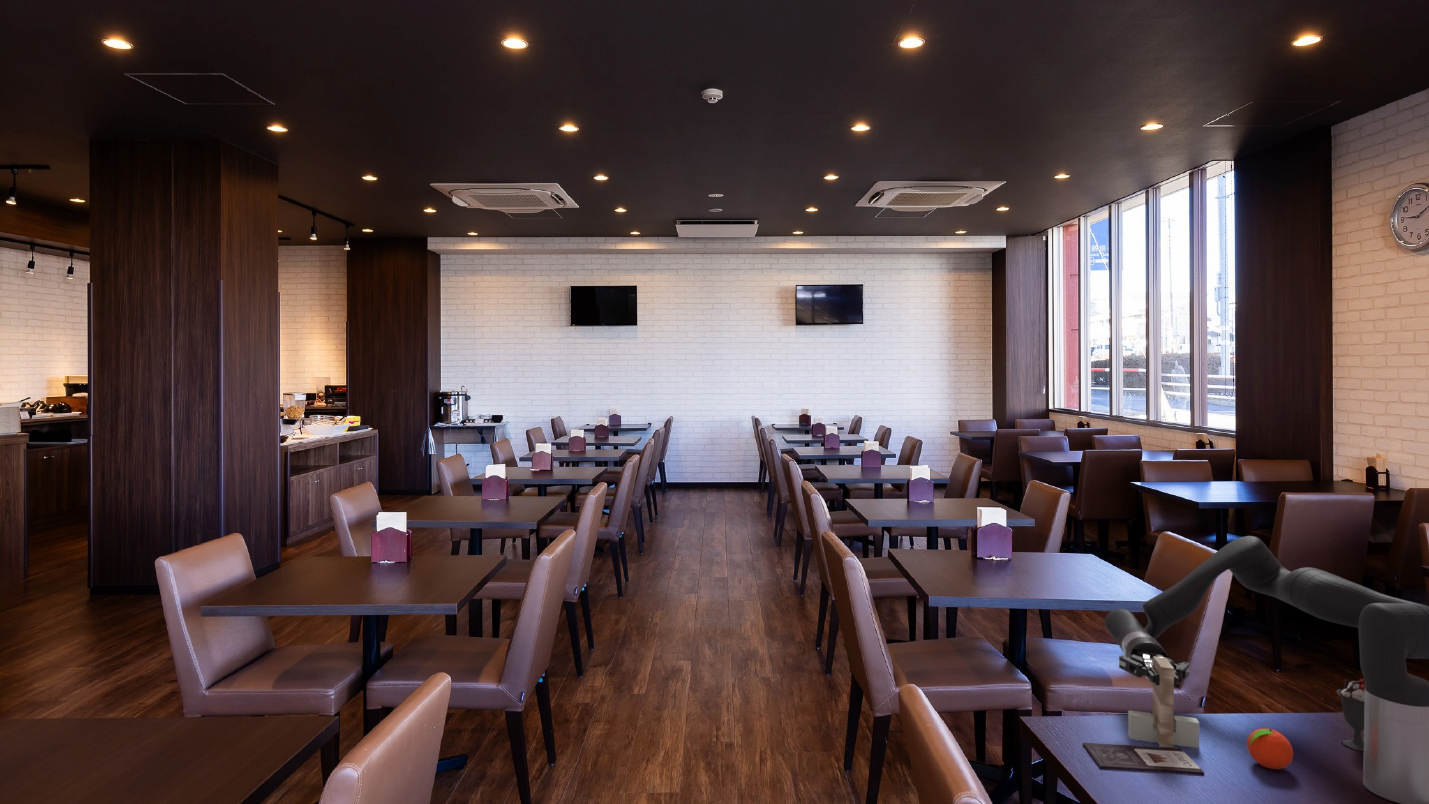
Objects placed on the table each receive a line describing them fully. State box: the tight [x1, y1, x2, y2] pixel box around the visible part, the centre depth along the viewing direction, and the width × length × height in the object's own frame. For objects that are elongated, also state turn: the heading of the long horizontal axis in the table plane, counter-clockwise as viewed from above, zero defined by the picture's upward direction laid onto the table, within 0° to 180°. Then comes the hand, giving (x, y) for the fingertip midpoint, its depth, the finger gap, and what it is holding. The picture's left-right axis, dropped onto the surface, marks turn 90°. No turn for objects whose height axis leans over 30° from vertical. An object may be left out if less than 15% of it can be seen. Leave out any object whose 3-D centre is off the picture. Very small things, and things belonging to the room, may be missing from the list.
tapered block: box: [1151, 656, 1175, 748], centre depth 147 cm, size 2×7×16 cm, turn 162°
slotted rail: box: [1127, 710, 1200, 749], centre depth 147 cm, size 12×2×5 cm, turn 72°
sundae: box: [1336, 677, 1365, 752], centre depth 145 cm, size 7×7×15 cm
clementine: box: [1246, 727, 1294, 770], centre depth 137 cm, size 8×7×7 cm
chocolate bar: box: [1082, 742, 1205, 776], centre depth 140 cm, size 9×1×18 cm
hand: (1165, 681), depth 145 cm, fingers closed on tapered block, 2 cm apart
